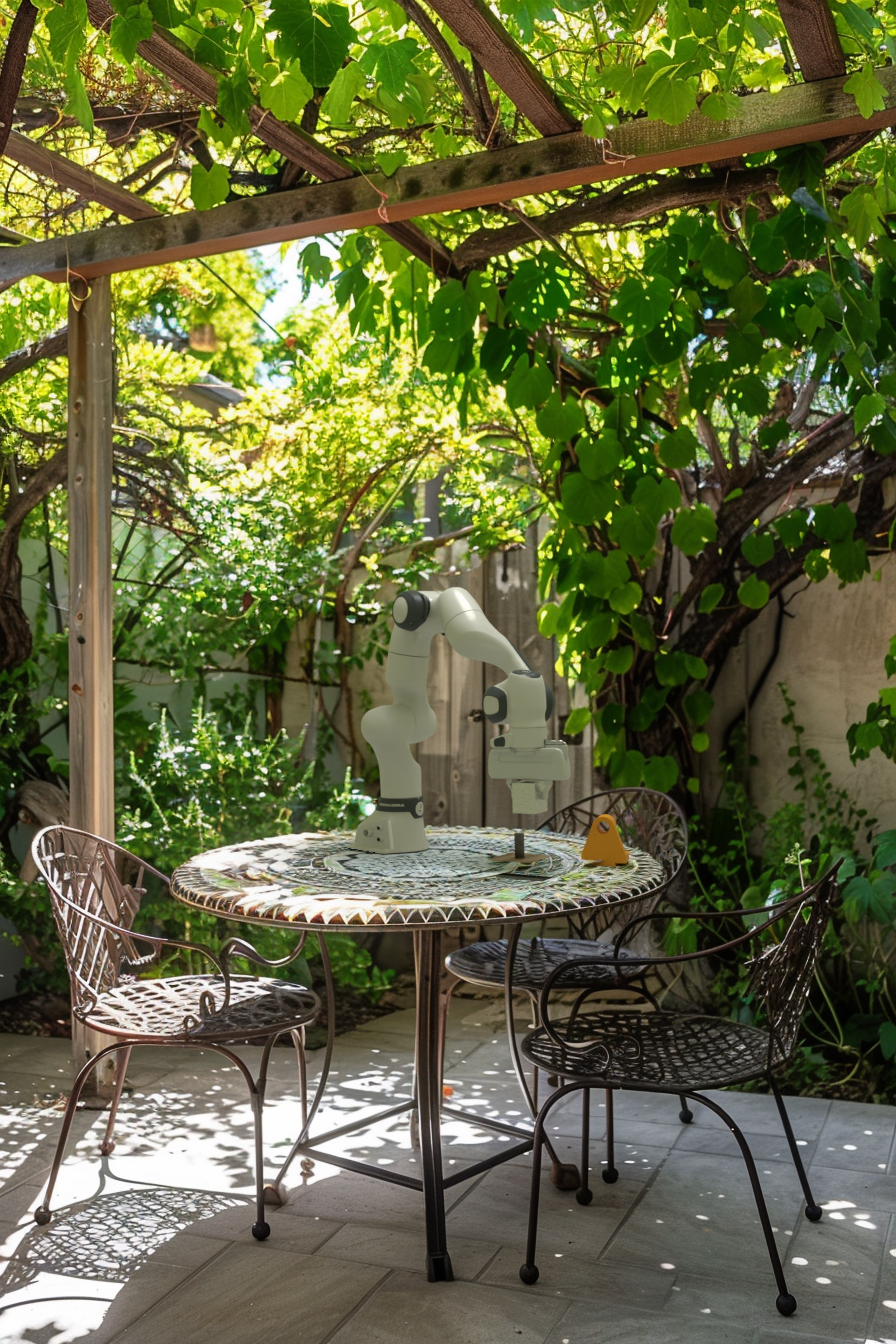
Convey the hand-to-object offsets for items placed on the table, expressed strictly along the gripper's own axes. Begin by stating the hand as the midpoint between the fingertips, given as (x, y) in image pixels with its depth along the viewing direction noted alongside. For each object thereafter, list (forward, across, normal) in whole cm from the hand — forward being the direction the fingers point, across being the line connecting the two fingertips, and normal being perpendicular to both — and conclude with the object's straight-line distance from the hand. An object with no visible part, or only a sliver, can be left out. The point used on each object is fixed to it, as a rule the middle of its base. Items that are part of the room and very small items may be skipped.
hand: (529, 798), depth 289 cm
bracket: (+18, -9, -22) cm, 30 cm away
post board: (+18, +10, -13) cm, 24 cm away
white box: (+3, 0, 0) cm, 3 cm away
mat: (+18, 0, 0) cm, 18 cm away
